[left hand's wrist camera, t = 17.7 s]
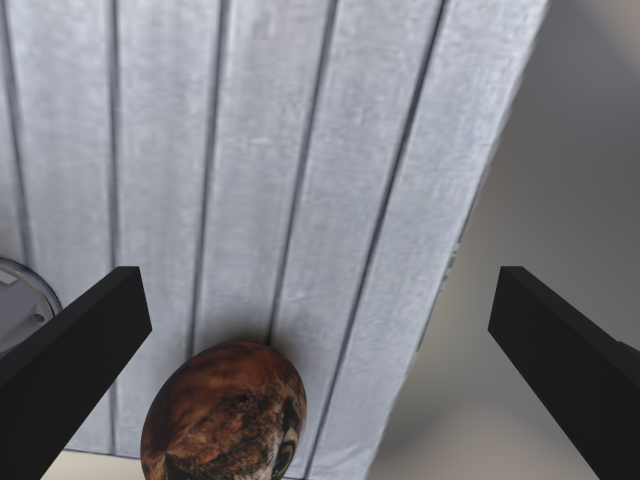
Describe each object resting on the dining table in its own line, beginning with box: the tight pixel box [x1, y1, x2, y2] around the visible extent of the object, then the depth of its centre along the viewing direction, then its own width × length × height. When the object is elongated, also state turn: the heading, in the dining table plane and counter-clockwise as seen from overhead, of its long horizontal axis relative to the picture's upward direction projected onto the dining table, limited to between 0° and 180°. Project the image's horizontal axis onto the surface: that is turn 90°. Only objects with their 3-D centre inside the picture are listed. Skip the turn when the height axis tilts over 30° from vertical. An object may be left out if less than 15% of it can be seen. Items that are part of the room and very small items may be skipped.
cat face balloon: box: [140, 341, 307, 480], centre depth 43 cm, size 22×18×20 cm
